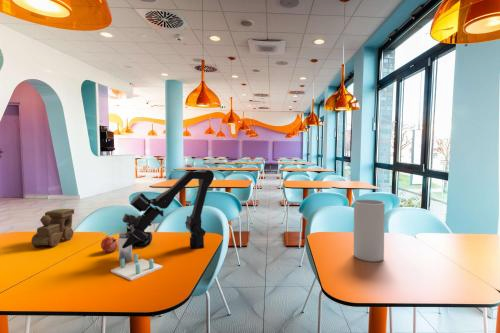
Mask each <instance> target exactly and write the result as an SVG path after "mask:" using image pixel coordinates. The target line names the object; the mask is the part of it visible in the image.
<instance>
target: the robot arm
mask: <svg viewBox="0 0 500 333" xmlns="http://www.w3.org/2000/svg"><path fill="white" fill-rule="evenodd" d="M214 178H215V173H214V172H213V171H212V170H210V169H209V170H208V169H202V170H200V171H198V170H197V171H196V170H195V171H194V170H188V171H186V172H185V173H184V174H183V175H182V176H181V177H180V178H179V179H178V180H177V181H176V182H174V184H173V185H172V186H170V187H169V189H167V190H166V191H163V192H162V193H160V194H159V195H157V196H155V198H150V199H149V198H148V197H146V195H145V194H144V193H142V192H141V193H139V194H138V195H136V197H134V198H133V199H132V200H131V202H130V203H129V204H130V205H131V206H132V207H133V208H135V209H136V211H138V212H140V213H141V212H143V213H142V214H141V215H137V216H135V215H134V214H128V213H124V216H123V218H122V222H123V223H126V224H125V225H126V227H125V228H126V232H129V237H128V239H127V240H126V242H125V243H124V244H123V246H122V248H126V247H128V246H130V245H132V244H134V243H136V242H139V241H144V240H145V239H146V234H145V232H146V230H147V229H148V227H151V226H152V223H153V222H154V221H155V220H156V219H157V217H158V216H159V215H160V217H162V218H163V217H164V209H167V208H169V206H170V205H171V204H172V203H173V201H174V199H175V197H176V196H177V195H178V193H180V192H181V191H182V190H183V189H184V188H185V187H186V186H187V185H188V184H189V183H190V182H191V181H192V180H193V179H194V180H198V187H197V188H198V189H197V192H196V197H195V201H194V205H193V207H192V208H193V209H192V212H191V214H190V215H186V221H185V222H184V225H185V228H186V230H187V231H189V233H190V237H189V247H190V249H204V248H205V244H204V243H205V238H204V237H205V236H206V232H207V231H206V230H205V229H204V228H202V222H203V221H202V212H203V209H204V204H205V201H206V196H207V194H208V188H209V187H210V186H211V184H212V182H213V180H214ZM153 206H154V207H153ZM159 208H160V209H161V210H160V209H159Z"/></svg>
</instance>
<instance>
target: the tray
mask: <svg viewBox="0 0 500 333" xmlns="http://www.w3.org/2000/svg"><path fill="white" fill-rule="evenodd" d="M120 261H121V262H120V266H118V267H115V268H113V269H111V270H110V272H111V273H112V274H114V275H118V276H119V277H122V278H123V279H126V280H128V281H133V280H136V279H139V278H141V277H143V276H146V275H148V274H150V273H153V272H156V271H157V270H160V269H163V265H161V264H158V263H155V262H154V259H153V258H149V260H146V259H144V258H140V259H139V253H134V254H133V261H132V262H128V263H126V262H125V258H122V259H120Z"/></svg>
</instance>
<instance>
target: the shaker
mask: <svg viewBox="0 0 500 333" xmlns="http://www.w3.org/2000/svg"><path fill="white" fill-rule="evenodd" d="M128 237H129V232H127V231H125V232H124V231H123V232H120V233H119V236H118V238H117V242H118V262H119V263H121V261H120V259H122V258H125V263H130V262H131V261H133V247H132V245H130V246H128V247H126V248H122V246H123V244H124V243H125V242H126V240H127V239H128Z"/></svg>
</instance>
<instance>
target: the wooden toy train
mask: <svg viewBox="0 0 500 333" xmlns="http://www.w3.org/2000/svg"><path fill="white" fill-rule="evenodd" d="M73 215H75V209H73V208H57V209H53V210H49V211H48V210H47V211H46V212H44V215H42V216H41V218H40V219H39V220H40V222H41V224H42V225H43V226H39V227H37V228H36V233H35V234H34V235H33V236H32V237H31V240H30V241H31V246H32V247H34V248H37V247H40V246H48V245H49V247H52V248H55V247H57V246H58V245H59V243H60V241H61V240H62V239H63V240H64V241H67V242H68V241H70V240H72V238H73V236H74V230H73V228H72V227H73V226H72V225H73Z"/></svg>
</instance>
